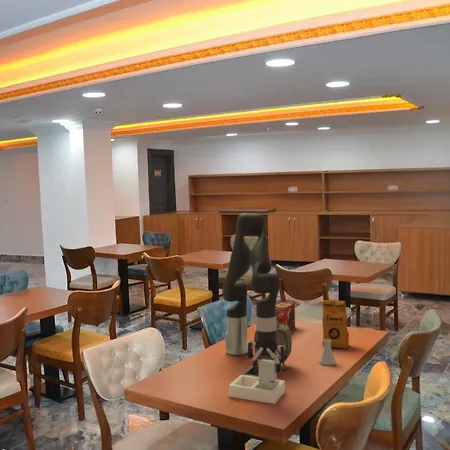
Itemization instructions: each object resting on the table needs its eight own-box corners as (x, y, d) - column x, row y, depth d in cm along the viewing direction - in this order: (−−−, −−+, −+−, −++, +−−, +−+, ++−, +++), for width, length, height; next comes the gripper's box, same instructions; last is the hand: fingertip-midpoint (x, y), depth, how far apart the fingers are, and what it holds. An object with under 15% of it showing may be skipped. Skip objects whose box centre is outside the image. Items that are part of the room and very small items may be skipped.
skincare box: (258, 395, 194) (257, 362, 193) (261, 390, 198) (260, 358, 197) (274, 397, 192) (274, 364, 191) (277, 392, 196) (277, 360, 195)
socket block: (240, 383, 208) (240, 374, 207) (250, 373, 218) (250, 365, 217) (264, 386, 203) (264, 378, 203) (273, 377, 213) (273, 368, 213)
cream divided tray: (229, 396, 195) (228, 385, 195) (241, 385, 205) (241, 374, 205) (274, 403, 188) (274, 392, 187) (284, 391, 198) (284, 380, 198)
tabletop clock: (254, 368, 224) (253, 310, 222) (260, 361, 232) (259, 305, 230) (288, 372, 219) (287, 312, 217) (293, 364, 227) (292, 307, 225)
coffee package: (347, 351, 244) (346, 303, 242) (320, 348, 248) (319, 301, 247) (350, 344, 253) (350, 299, 251) (324, 342, 258) (324, 297, 256)
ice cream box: (284, 326, 288) (284, 302, 286) (295, 327, 284) (294, 303, 283) (266, 335, 271) (266, 310, 270) (277, 337, 267) (277, 311, 266)
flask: (336, 366, 224) (336, 343, 223) (318, 365, 225) (318, 342, 224) (336, 360, 231) (335, 338, 230) (319, 360, 232) (318, 337, 231)
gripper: (244, 328, 192) (245, 372, 194) (281, 332, 187) (282, 377, 188) (251, 323, 199) (252, 365, 201) (288, 327, 193) (288, 370, 195)
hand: (267, 371), depth 194 cm, fingers open, 8 cm apart
